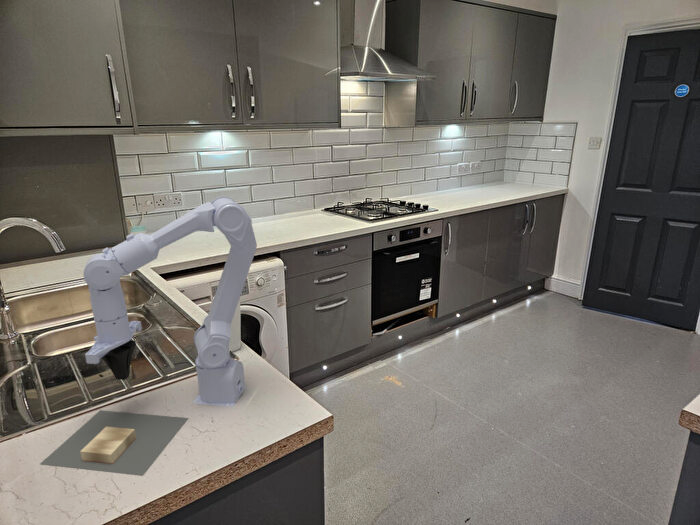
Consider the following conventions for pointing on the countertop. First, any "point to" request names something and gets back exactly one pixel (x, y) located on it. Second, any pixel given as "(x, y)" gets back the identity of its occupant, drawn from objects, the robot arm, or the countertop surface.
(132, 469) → the mat
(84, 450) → the tile
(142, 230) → the can
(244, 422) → the countertop surface
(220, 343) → the robot arm
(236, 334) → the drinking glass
